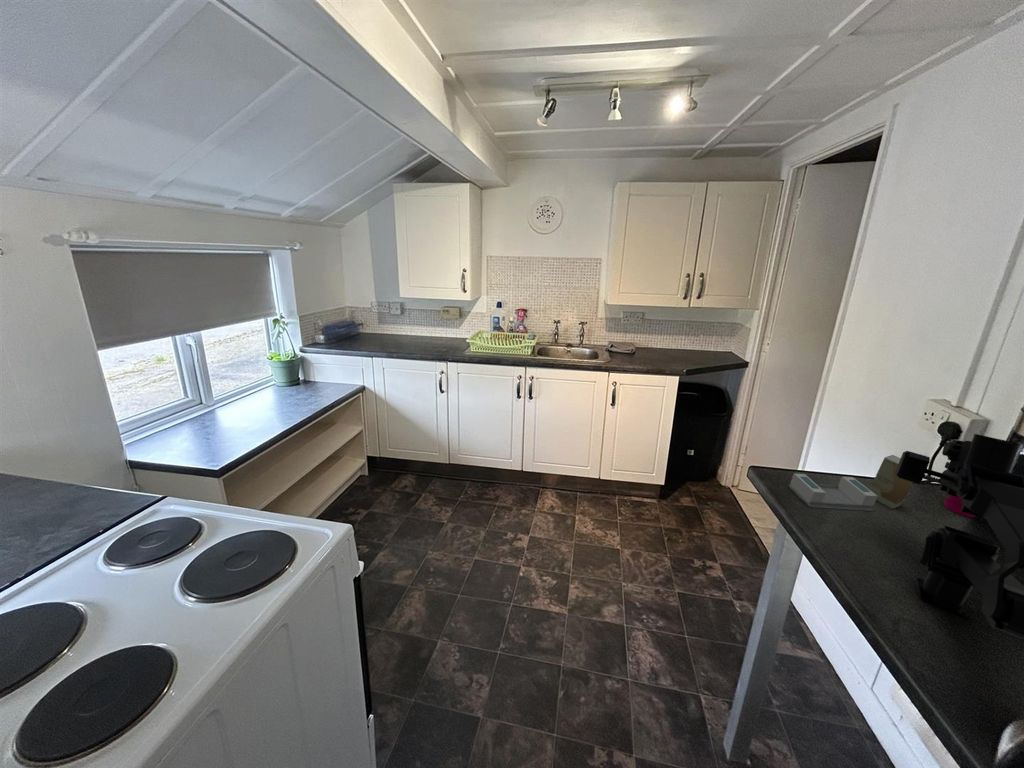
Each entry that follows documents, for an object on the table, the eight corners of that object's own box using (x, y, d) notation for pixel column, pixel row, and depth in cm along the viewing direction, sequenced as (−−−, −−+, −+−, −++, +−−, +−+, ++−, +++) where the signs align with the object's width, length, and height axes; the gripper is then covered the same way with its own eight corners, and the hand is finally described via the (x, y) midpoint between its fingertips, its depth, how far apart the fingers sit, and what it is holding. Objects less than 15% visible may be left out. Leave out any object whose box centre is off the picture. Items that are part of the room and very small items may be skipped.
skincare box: (865, 495, 112) (882, 456, 107) (874, 492, 113) (891, 453, 109) (894, 510, 106) (913, 469, 102) (902, 506, 108) (921, 466, 104)
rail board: (846, 490, 114) (848, 485, 113) (872, 511, 105) (874, 506, 105) (788, 486, 114) (789, 482, 113) (809, 507, 105) (811, 502, 105)
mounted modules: (848, 488, 113) (853, 476, 112) (872, 507, 105) (878, 495, 104) (789, 484, 113) (794, 472, 112) (809, 503, 105) (814, 491, 104)
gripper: (1060, 466, 75) (1017, 455, 88) (923, 431, 84) (903, 426, 98) (1035, 522, 76) (996, 503, 89) (903, 482, 86) (886, 470, 99)
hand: (943, 473), depth 94 cm, fingers open, 9 cm apart
